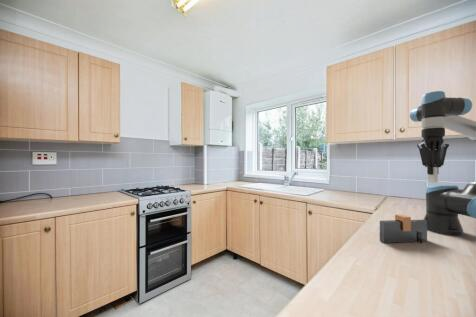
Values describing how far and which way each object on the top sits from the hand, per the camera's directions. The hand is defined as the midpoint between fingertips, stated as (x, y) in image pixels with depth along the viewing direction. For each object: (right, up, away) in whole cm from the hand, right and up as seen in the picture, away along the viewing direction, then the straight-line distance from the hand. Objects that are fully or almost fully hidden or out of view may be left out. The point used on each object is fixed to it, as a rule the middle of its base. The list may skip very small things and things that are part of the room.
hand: (432, 182), depth 91 cm
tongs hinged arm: (-15, -26, 0) cm, 30 cm away
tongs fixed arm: (-12, -26, 0) cm, 29 cm away
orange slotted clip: (-13, -21, +1) cm, 25 cm away
